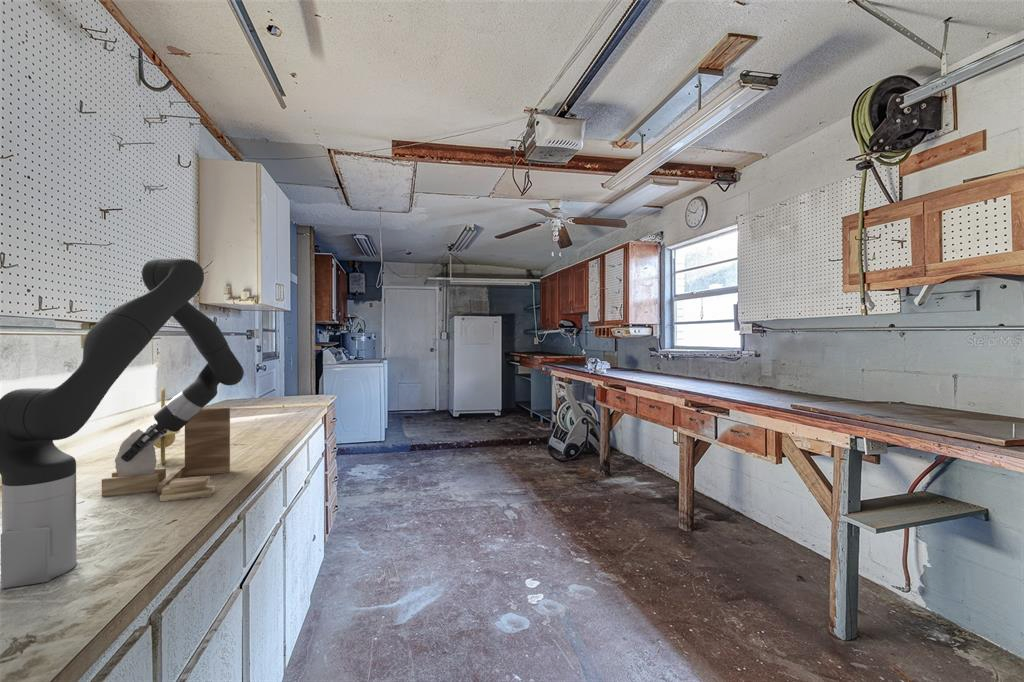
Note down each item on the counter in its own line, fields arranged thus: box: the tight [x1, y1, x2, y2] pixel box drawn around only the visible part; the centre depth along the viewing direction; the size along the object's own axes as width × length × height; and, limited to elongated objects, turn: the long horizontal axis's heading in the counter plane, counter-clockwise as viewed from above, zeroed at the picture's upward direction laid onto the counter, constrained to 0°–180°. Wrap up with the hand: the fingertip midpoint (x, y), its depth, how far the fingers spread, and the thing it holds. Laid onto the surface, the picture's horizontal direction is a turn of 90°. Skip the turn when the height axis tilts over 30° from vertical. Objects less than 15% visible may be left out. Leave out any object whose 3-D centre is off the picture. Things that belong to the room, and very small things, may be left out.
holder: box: [101, 467, 167, 497], centre depth 124 cm, size 7×12×4 cm, turn 112°
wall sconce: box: [153, 387, 181, 465], centre depth 149 cm, size 14×10×25 cm
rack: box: [157, 407, 231, 497], centre depth 130 cm, size 19×13×20 cm
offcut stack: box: [159, 475, 216, 502], centre depth 119 cm, size 5×11×4 cm, turn 112°
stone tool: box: [114, 428, 157, 477], centre depth 124 cm, size 9×3×15 cm, turn 119°
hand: (126, 458), depth 123 cm, fingers closed on stone tool, 2 cm apart
